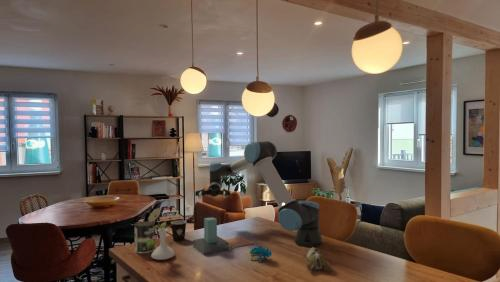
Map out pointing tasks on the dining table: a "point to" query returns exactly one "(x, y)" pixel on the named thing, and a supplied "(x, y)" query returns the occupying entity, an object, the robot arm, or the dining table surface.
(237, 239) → the mat
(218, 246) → the socket block
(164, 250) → the flower in vase
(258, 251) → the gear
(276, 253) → the dining table surface
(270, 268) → the dining table surface
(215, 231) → the peg
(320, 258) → the ceramic sculpture
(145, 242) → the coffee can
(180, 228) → the coffee mug
